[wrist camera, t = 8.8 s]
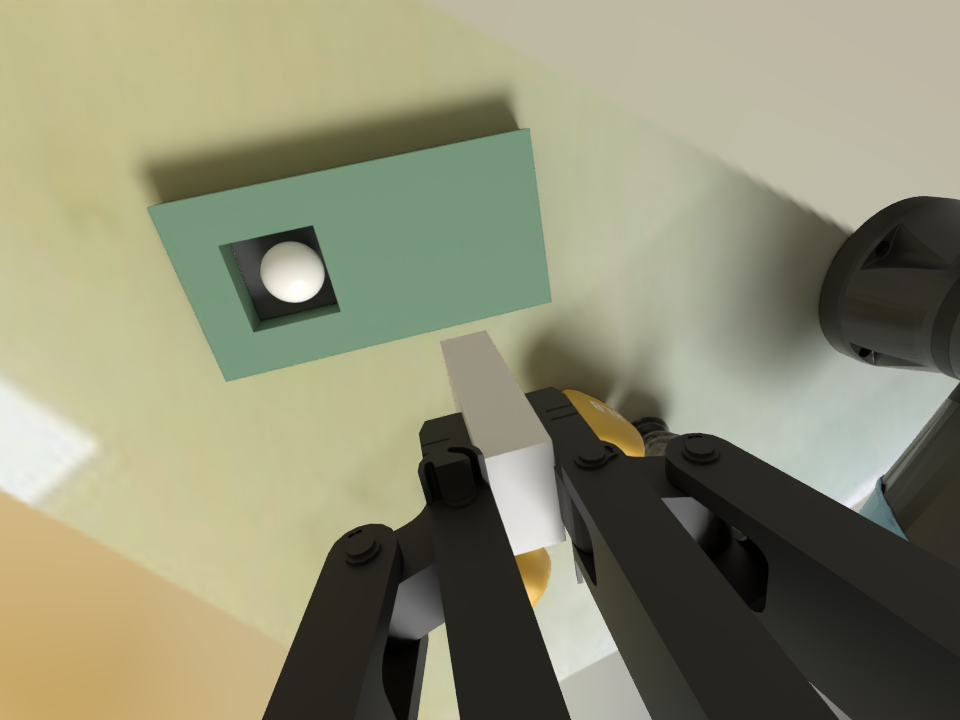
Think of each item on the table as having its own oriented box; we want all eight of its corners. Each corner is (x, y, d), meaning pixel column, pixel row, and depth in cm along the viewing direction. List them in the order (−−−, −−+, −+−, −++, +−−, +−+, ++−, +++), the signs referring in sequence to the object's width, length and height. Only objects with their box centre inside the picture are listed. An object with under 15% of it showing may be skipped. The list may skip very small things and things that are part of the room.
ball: (306, 231, 35) (318, 237, 31) (325, 285, 37) (339, 296, 33) (247, 248, 33) (254, 256, 30) (270, 303, 35) (278, 317, 32)
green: (519, 129, 35) (529, 128, 32) (541, 293, 40) (551, 302, 37) (162, 202, 32) (146, 207, 30) (234, 367, 37) (226, 382, 35)
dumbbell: (549, 368, 43) (586, 415, 35) (627, 407, 46) (676, 458, 39) (442, 532, 48) (455, 604, 40) (519, 557, 51) (544, 627, 43)
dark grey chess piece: (671, 407, 47) (761, 486, 36) (672, 457, 49) (757, 545, 38) (612, 424, 46) (686, 509, 35) (617, 474, 49) (687, 568, 38)
